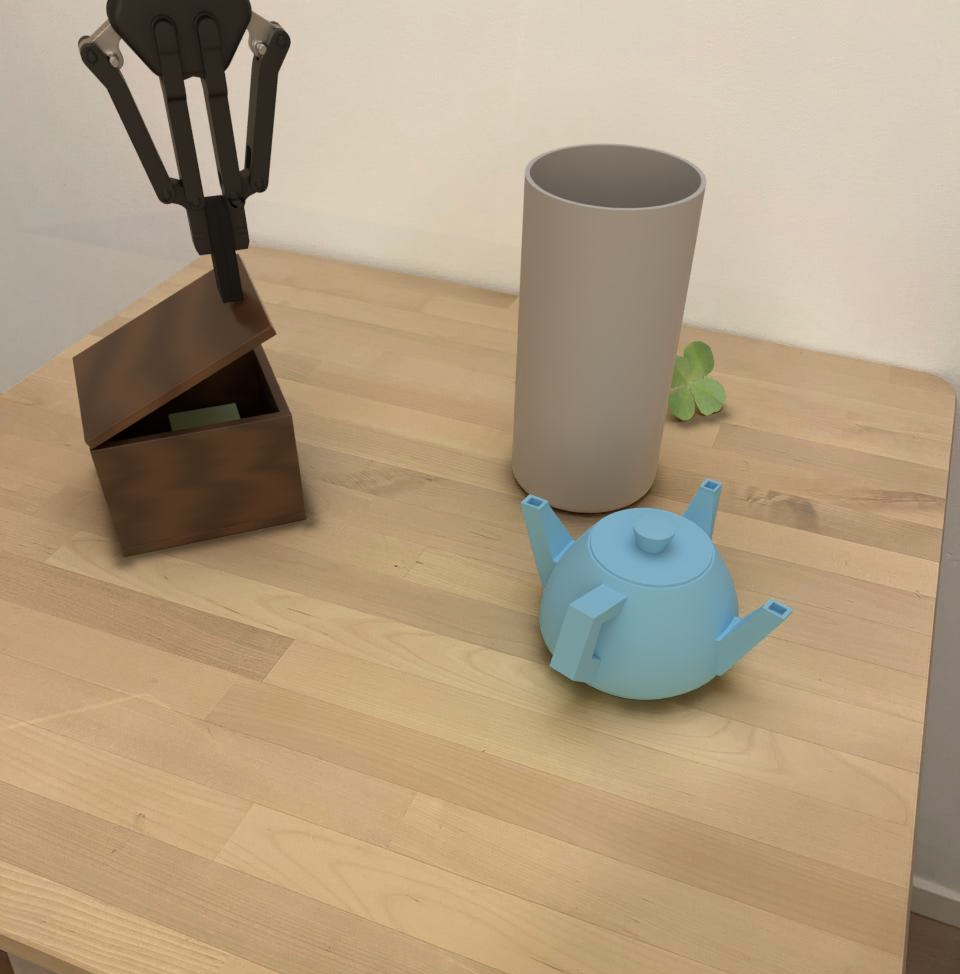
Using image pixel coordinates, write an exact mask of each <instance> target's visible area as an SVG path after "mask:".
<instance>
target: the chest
mask: <svg viewBox="0 0 960 974" xmlns="http://www.w3.org/2000/svg"><path fill="white" fill-rule="evenodd" d="M233 403H235V404H236V407H237V409H238V412H239V415H240V418H241V419H237V420H232V421H226V422H220V423H215V424H209V425H204V426H198V427H192V428H187V429H181V430H175V431H172V430H171V426H170V421H169V417H168V415H169V414H174V413H180V412H186V411H191V410H197V409H203V408H209V407H215V406H221V405H227V404H233ZM88 447H89V446H88ZM89 452H90V453H89V454H90V456H91V460H92V462H93V465H94V468H95V473H96V475H97V477H98V481H99V485H100V487H101V490H102V494H103V497H104V500H105V503H106V506H107V509H108V513H109V515H110V518H111V522H112V525H113V527H114V531H115V534H116V537H117V540H118V543H119V546H120V550H121V552H122V556H123V557H129V556H134V555H139V554H144V553H148V552H152V551H157V550H162V549H167V548H172V547H178V546H182V545H186V544H191V543H196V542H201V541H206V540H210V539H211V540H212V539H215V538H220V537H225V536H231V535H234V534H235V535H236V534H240V533H244V532H249V531H254V530H259V529H263V528H268V527H273V526H279V525H282V524H287V523H292V522H296V521H303V520H305V519H307V513H306V506H305V505H306V504H305V498H304V490H303V483H302V476H301V469H300V462H299V455H298V448H297V441H296V433H295V426H294V419H293V414H292V412H291V410H290V407H289V404H288V403H287V400H286V398H285V395H284V393H283V391H282V389H281V386H280V384H279V381H278V379H277V377H276V376H275V373H274V370H273V368H272V365H271V363H270V361H269V359H268V357H267V354H266V352H265V349H264V346H263V344H261V345H259V346H257V347H256V348H254V349H252V350H251V351H249V352H248V353H246V354H244V355H243V356H241V357H240V358H238V359H236V360H235V361H233V362H232V363H230V364H228V365H227V366H225V367H224V368H222V369H220V370H219V371H217V372H216V373H214V374H212V375H211V376H209V377H208V378H206V379H204V380H203V381H201V382H199V383H198V384H196V385H195V386H193V387H191V388H190V389H188V390H187V391H185V392H183V393H182V394H180V395H179V396H177V397H175V398H174V399H172V400H171V401H169V402H167V403H166V404H164V405H163V406H161V407H159V408H158V409H156V410H155V411H153V412H151V413H150V414H148V415H146V416H145V417H143V418H142V419H140V420H138V421H137V422H135V423H134V424H132V425H130V426H129V427H127V428H126V429H124V430H122V431H121V432H119V433H118V434H116V435H114V436H113V437H111V438H110V439H108V440H106V441H105V442H103V443H102V444H100V445H98V446H97V447H95V448H93V449H91V448H90V447H89Z"/></svg>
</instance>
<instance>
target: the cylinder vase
mask: <svg viewBox="0 0 960 974" xmlns="http://www.w3.org/2000/svg"><path fill="white" fill-rule="evenodd" d="M706 186H707V177H706V175H705V173H704V171H702V169H700V167H698V166H697V165H696V164H695V163H693V162H691V161H689V160H688V159H686V158H683V157H681V156H679V155H676V154H673V153H670V152H667V151H664V150H660V149H656V148H652V147H647V146H641V145H634V144H633V145H632V144H626V143H625V144H623V143H583V144H573V145H567V146H563V147H558V148H554V149H551V150H548V151H544V152H543V153H540V154H539V155H536V156H535V157H533V158H532V159H531V160H530V161H529V162H528V163H527V164H526V166H525V169H524V184H523V204H522V205H523V207H522V208H523V209H522V228H521V248H520V249H521V250H520V251H521V252H520V271H519V272H520V273H519V292H518V293H519V295H518V298H519V299H518V313H517V338H516V340H517V341H516V359H515V360H516V362H515V381H514V382H515V385H514V403H513V404H514V405H513V407H514V408H513V426H512V427H513V428H512V429H513V430H512V432H513V433H512V447H511V448H512V449H511V451H512V452H511V468H512V473H513V476H514V479H515V480H516V481H517V483H518V484H519V486H520V487H521V488H522V489H523V490H524V491H525V492H526V493H527V494H528V495H529V494H531V495H534V496H536V497H539V498H542V499H544V500H547V501H549V502H548V504H549V506H550V507H551V508H555V509H558V510H562V511H567V512H571V513H572V512H573V513H581V514H597V513H598V514H599V513H606V512H607V513H608V512H613V511H617V510H620V509H623V508H626V507H628V506H630V505H632V504H634V503H635V502H638V501H639V500H640V499H642V497H644V496H645V495H646V494H647V493H648V492H649V490H650V489H651V488H652V486H653V484H654V482H655V479H656V475H657V469H658V463H659V458H660V454H661V453H660V452H661V446H662V440H663V435H664V430H665V423H666V417H667V411H668V407H669V403H668V401H669V396H670V394H671V390H672V388H671V384H672V378H673V372H674V366H675V361H676V355H678V348H679V343H680V336H681V331H682V325H683V319H684V316H685V315H684V314H685V307H686V302H687V297H688V296H687V295H688V291H689V285H690V280H691V274H692V269H693V264H694V263H693V262H694V257H695V252H696V251H695V250H696V246H697V240H698V239H697V238H698V233H699V227H700V221H701V216H702V210H703V205H704V198H705V194H706V193H705V192H706V189H707V187H706Z"/></svg>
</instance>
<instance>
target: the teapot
mask: <svg viewBox="0 0 960 974" xmlns="http://www.w3.org/2000/svg"><path fill="white" fill-rule="evenodd" d="M723 484H724V483H722V482H720V481H716V480H714V479H711V478H709V477H707V478H706V479H705V480H703V482H702V483H701V484H700V485H699V486H698V490H697V491H696V493H695V494H694V496H693V497H692V500H691V501H690V503H689V504H688V505H687V508H686V509H685V510H684V512H683V513H682V515H680V514H677V513H675V512H671V511H668V510H665V509H659V508H654V507H653V508H652V507H634V508H633V507H631V508H626V509H622V510H619V511H615V512H612V513H609V514H608V515H606V516H604V517H602V518H601V519H600V520H598V521H597V522H595V523H594V524H593V525H591V526H590V527H589V528H588V529H586V531H584V532H583V533H582V534H581V535H580V536H579V537H578V538H577V539H576V540H575V539H574V538H573V537H572V535H571V534H570V532H569V531H568V529H567V528H566V527H565V526H564V524H563V523H562V521H561V520H560V519H559V517H558V515H557V514H556V513H555V512H554V510H553V508H552V506H549V504H548V502H549V501H547V500H544V499H542V498H539V497H536V496H534V495H531V494H528V495H527V496H526V497H525V498H524V499H523V500H522V501H521V502H520V508H521V511H522V515H523V520H524V524H525V527H526V532H527V535H528V539H529V542H530V546H531V547H530V548H531V550H532V554H533V558H534V561H535V565H536V570H537V573H538V577H539V581H540V585H541V587H542V588H544V589H543V591H542V595H541V599H540V604H539V610H538V611H539V612H538V624H539V629H540V632H541V636H542V638H543V641H544V643H545V645H546V647H547V649H548V651H549V653H550V654H551V655H552V656H551V661H550V663H549V667H550V668H551V669H553V670H555V671H557V672H558V673H559V674H561V675H562V676H564V677H566V678H568V679H569V680H571V681H573V682H580V683H583V684H584V683H585V684H586V685H588V686H590V687H592V688H593V689H596V690H597V691H600V692H603V693H605V694H608V695H611V696H614V697H617V698H621V699H628V700H636V701H637V700H638V701H650V700H651V701H652V700H653V701H654V700H660V699H661V700H663V699H669V698H673V697H676V696H680V695H684V694H687V693H689V692H692V691H694V690H695V691H696V690H697V689H699V688H700V687H702V686H704V685H707V683H709V682H710V681H712V680H713V679H714V678H715V677H717V676H720V677H722V676H723V675H724V674H725V673H726V672H727V671H728V670H730V668H732V667H733V666H734V665H735V664H737V663H738V662H739V661H741V660H742V658H744V657H745V656H746V655H747V654H748V653H749V652H751V651H752V650H753V649H754V648H755V647H756V646H758V645H759V644H760V643H761V642H762V641H763V640H764V639H765V638H766V637H768V636H769V635H770V634H771V633H772V632H774V631H775V630H776V629H777V628H778V627H779V626H781V625H782V624H783V623H784V622H785V621H786V620H787V619H788V618H789V617H790V616H791V615H792V613H793V611H794V609H793V608H792V607H789V606H787V605H785V604H784V603H782V602H781V601H778V600H776V599H774V598H773V597H771V598H770V599H768V601H767V602H766V603H764V604H763V605H761V606H760V607H758V608H756V609H755V610H753V611H752V612H750V613H747V615H745V616H743V617H740V607H739V599H738V594H737V590H736V587H735V583H734V581H733V578H732V576H731V573H730V570H729V568H728V566H727V564H726V562H725V560H724V558H723V557H722V555H721V552H719V551H720V550H719V549H718V548H717V546H716V545H715V543H714V542H713V540H712V539H713V533H714V529H715V524H716V518H717V513H718V509H719V503H720V498H721V494H722V490H723V489H722V488H723Z"/></svg>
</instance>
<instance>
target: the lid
mask: <svg viewBox="0 0 960 974" xmlns="http://www.w3.org/2000/svg"><path fill="white" fill-rule="evenodd" d="M236 256H237V262H238V268H239V274H240V280H241V286H242V292H243V298H244V300H243V301H236V302H229V303H223V301H222V299H221V296H220V294H219V291H218V289H217V285H216V279H215V274H214V268H212V269H211V270H209V271H207V272H206V273H205V274H203V275H202V276H200V277H198V278H196V279H195V280H193V281H192V282H190V283H188V284H187V285H185V286H184V287H182V288H181V289H179V290H178V291H176V292H174V293H172V294H171V295H170V296H168V297H166V298H165V299H163V300H162V301H160V302H159V303H157V304H155V305H153V306H152V307H150V308H149V309H147V310H145V311H144V312H143V313H141V314H139V315H138V316H136V317H134V318H133V319H132V320H130V321H128V322H126V323H125V324H123V325H121V326H120V327H119V328H117V329H116V330H114V331H112V332H111V333H109V334H107V335H106V336H105V337H103V338H101V339H99V340H98V341H97V342H95V343H94V344H91V345H90V346H88V347H87V348H85V349H84V350H82V351H80V352H78V354H76V355H74V356H73V357H72V358H71V359H72V365H73V373H74V378H75V385H76V392H77V398H78V405H79V412H80V419H81V427H82V433H83V438H84V443H85V444H86V445H87V446H88V447H90V448H91V449H93V448H95V447H97V446H98V445H100V444H102V443H103V442H105V441H106V440H108V439H110V438H111V437H113V436H114V435H116V434H118V433H119V432H121V431H122V430H124V429H126V428H127V427H129V426H130V425H132V424H134V423H135V422H137V421H138V420H140V419H142V418H143V417H145V416H146V415H148V414H150V413H151V412H153V411H155V410H156V409H158V408H159V407H161V406H163V405H164V404H166V403H167V402H169V401H171V400H172V399H174V398H175V397H177V396H179V395H180V394H182V393H183V392H185V391H187V390H188V389H190V388H191V387H193V386H195V385H196V384H198V383H199V382H201V381H203V380H204V379H206V378H208V377H209V376H211V375H212V374H214V373H216V372H217V371H219V370H220V369H222V368H224V367H225V366H227V365H228V364H230V363H232V362H233V361H235V360H236V359H238V358H240V357H241V356H243V355H244V354H246V353H248V352H249V351H251V350H252V349H254V348H256V347H257V346H259V345H263V343H266V342H267V341H269V340H270V339H272V338H274V337H275V336H277V331H276V329H275V326H274V324H273V322H272V319H271V317H270V315H269V314H268V311H267V309H266V307H265V305H264V303H263V300H262V298H261V296H260V294H259V292H258V290H257V287H256V285H255V283H254V281H253V279H252V277H251V275H250V273H249V270H248V268H247V266H246V263H245V262H244V261H245V260H244V259H243V258H242V256H241V255H240V253H236ZM90 448H89V449H90Z"/></svg>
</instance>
